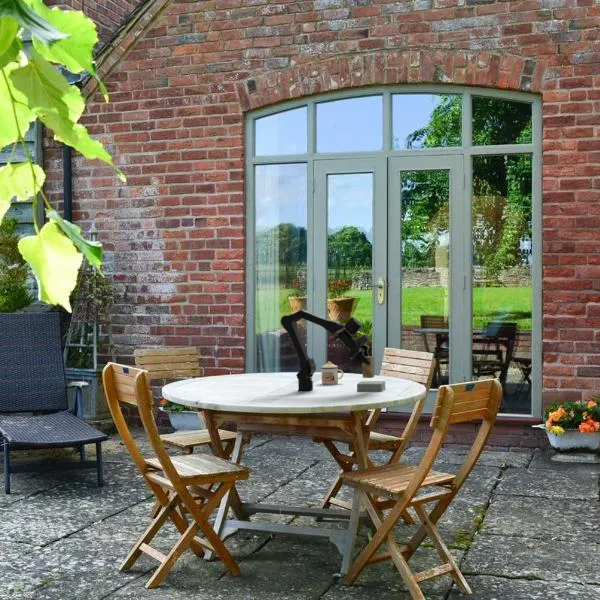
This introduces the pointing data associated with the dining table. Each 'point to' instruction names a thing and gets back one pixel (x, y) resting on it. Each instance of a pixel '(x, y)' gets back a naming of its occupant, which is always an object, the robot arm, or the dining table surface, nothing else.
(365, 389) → the gray box
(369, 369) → the bronze block
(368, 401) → the dining table surface
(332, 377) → the teacup with lid
